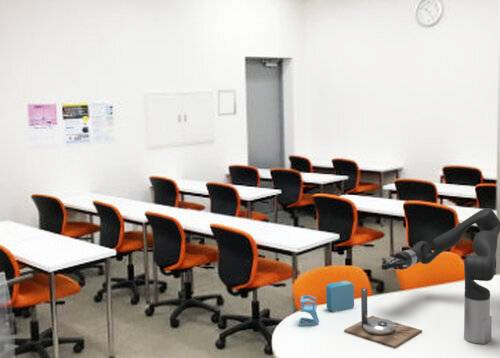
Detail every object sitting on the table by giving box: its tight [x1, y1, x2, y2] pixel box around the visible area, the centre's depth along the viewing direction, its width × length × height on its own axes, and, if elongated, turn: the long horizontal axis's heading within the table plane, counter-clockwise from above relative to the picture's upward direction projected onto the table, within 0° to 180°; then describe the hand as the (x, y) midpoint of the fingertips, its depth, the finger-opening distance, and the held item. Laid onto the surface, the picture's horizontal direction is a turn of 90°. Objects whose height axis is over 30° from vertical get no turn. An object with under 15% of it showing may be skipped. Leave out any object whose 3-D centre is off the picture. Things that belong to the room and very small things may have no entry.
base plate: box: [343, 315, 423, 349], centre depth 238 cm, size 24×20×1 cm
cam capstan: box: [360, 287, 403, 335], centre depth 236 cm, size 17×13×16 cm
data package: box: [325, 280, 355, 313], centre depth 264 cm, size 12×4×12 cm, turn 112°
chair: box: [298, 294, 320, 327], centre depth 249 cm, size 8×8×12 cm
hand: (383, 267), depth 248 cm, fingers closed
